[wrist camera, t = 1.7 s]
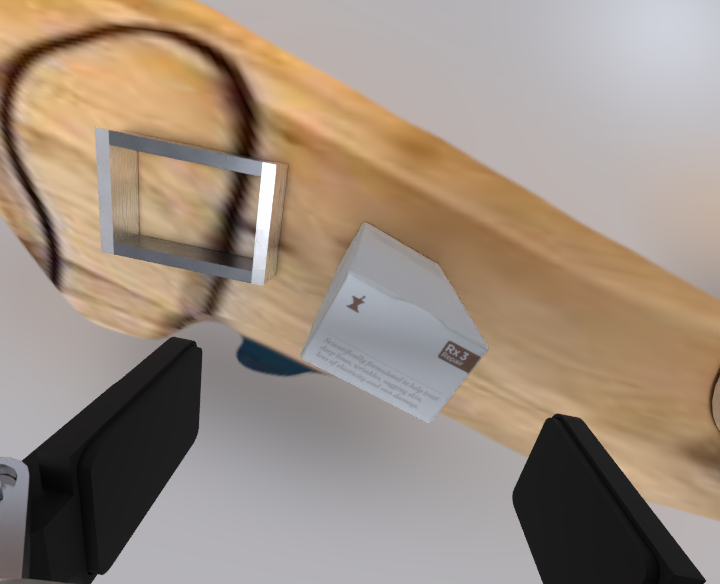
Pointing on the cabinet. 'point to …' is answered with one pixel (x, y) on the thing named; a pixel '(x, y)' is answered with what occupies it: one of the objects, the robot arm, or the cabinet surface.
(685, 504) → the cabinet surface
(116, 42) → the cabinet surface
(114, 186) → the socket collar
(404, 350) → the skincare box
